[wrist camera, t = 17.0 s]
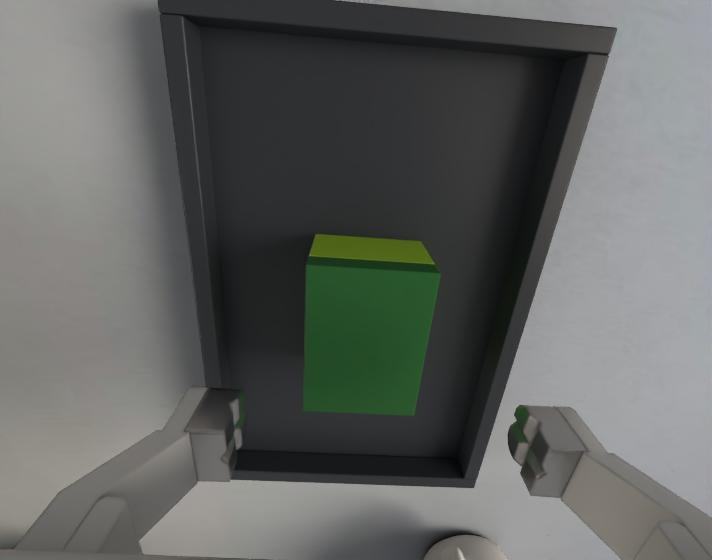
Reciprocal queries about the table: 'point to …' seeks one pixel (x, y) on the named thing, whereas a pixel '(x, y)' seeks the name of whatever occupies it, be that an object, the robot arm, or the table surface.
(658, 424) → the table surface
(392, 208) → the tray
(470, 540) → the cup
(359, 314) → the sponge
